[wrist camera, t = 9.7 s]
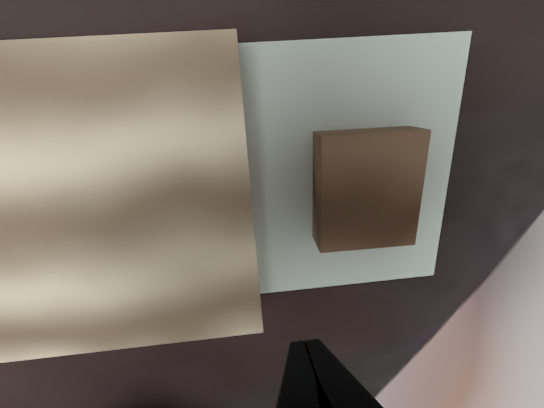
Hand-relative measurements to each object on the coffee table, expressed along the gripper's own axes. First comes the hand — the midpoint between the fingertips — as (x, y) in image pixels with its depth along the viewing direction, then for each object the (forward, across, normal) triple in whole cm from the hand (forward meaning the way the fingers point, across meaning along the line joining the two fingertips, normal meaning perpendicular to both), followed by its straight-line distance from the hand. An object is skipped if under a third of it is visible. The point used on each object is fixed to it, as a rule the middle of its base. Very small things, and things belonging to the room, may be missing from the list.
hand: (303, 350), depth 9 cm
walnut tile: (+9, -6, -1) cm, 11 cm away
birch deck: (+12, +9, -2) cm, 15 cm away
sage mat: (+12, -5, -2) cm, 13 cm away
